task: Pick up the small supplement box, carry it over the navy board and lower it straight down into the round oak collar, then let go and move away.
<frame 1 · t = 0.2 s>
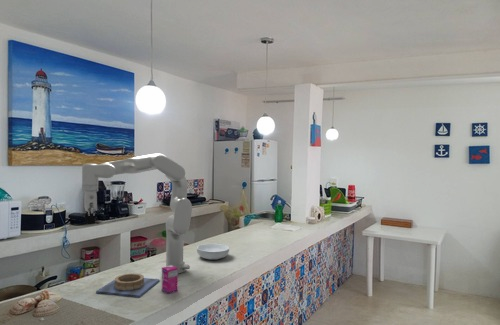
hand: (89, 222, 185), 31 cm above the counter, tool pointing down, fingers open, 9 cm apart
collar: (129, 286, 182), on the counter
serving bowl: (212, 258, 236), on the counter
supplement box: (169, 291, 179), on the counter
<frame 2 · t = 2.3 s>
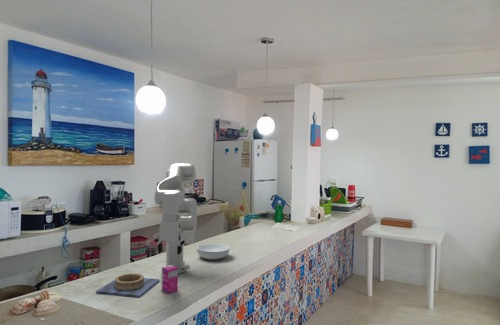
hand: (169, 253, 178), 18 cm above the counter, tool pointing down, fingers open, 9 cm apart
nothing on the counter moved.
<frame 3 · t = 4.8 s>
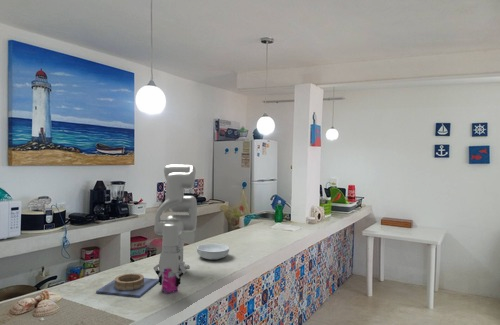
hand: (169, 284, 178), 3 cm above the counter, tool pointing down, fingers closed on supplement box, 7 cm apart
supplement box: (169, 291, 179), on the counter, touching gripper
everything else where it was.
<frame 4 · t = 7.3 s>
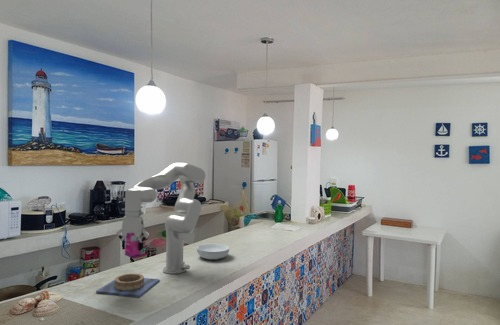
hand: (132, 249, 181), 19 cm above the counter, tool pointing down, fingers closed on supplement box, 7 cm apart
supplement box: (132, 255, 181), point 16 cm above the counter, touching gripper
everything else where it was.
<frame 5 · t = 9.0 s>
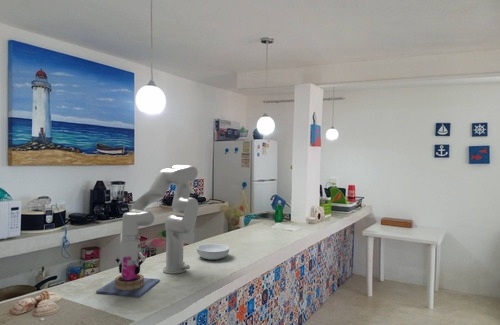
hand: (129, 272, 182), 7 cm above the counter, tool pointing down, fingers closed on supplement box, 7 cm apart
supplement box: (129, 279, 182), point 4 cm above the counter, touching gripper
everything else where it was.
when the fingers open (6 cm above the counter, at t = 10.1 s): supplement box drops 2 cm, resting on collar.
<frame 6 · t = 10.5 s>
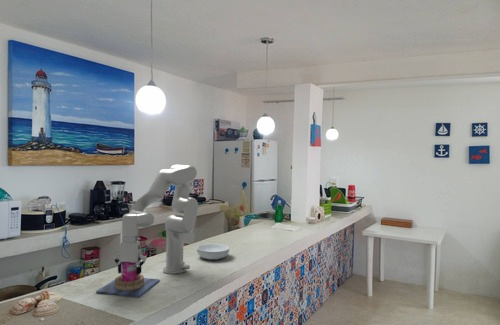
hand: (129, 273, 182), 7 cm above the counter, tool pointing down, fingers open, 9 cm apart
supplement box: (128, 285, 182), point 1 cm above the counter, touching collar
everything else where it was.
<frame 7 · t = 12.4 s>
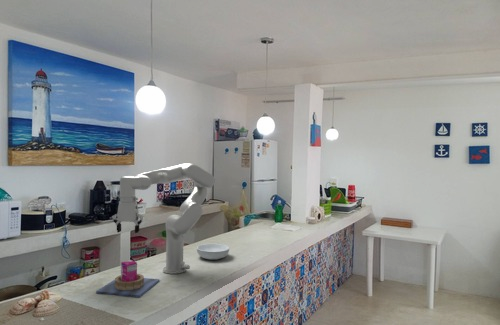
hand: (128, 232, 193), 25 cm above the counter, tool pointing down, fingers open, 9 cm apart
nothing on the counter moved.
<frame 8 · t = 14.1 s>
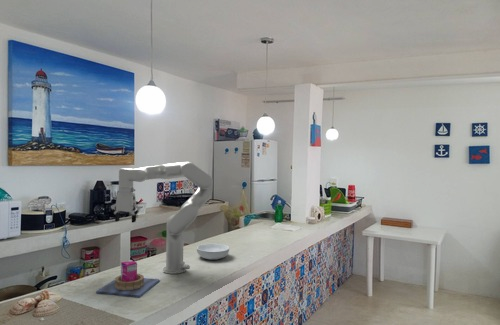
hand: (125, 221, 202), 28 cm above the counter, tool pointing down, fingers open, 9 cm apart
nothing on the counter moved.
at the end: supplement box 0.3 cm from the collar (horizontally); supplement box point 0.8 cm above the counter; supplement box tilted 0° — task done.
